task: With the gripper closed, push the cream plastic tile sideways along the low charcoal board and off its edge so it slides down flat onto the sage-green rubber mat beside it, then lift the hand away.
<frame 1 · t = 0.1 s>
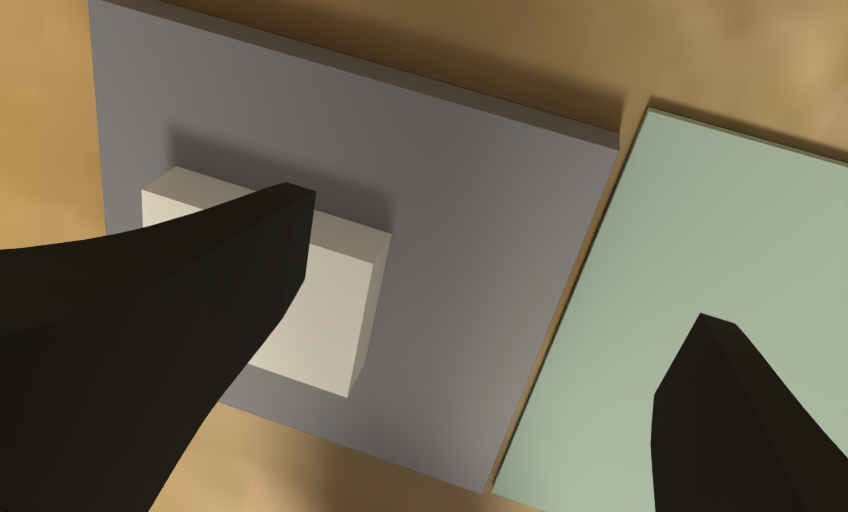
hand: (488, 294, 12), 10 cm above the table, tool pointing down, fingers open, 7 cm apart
grey flat slab: (328, 261, 25), on the table
mat: (749, 397, 24), on the table
tile: (263, 283, 23), point 2 cm above the table, touching grey flat slab
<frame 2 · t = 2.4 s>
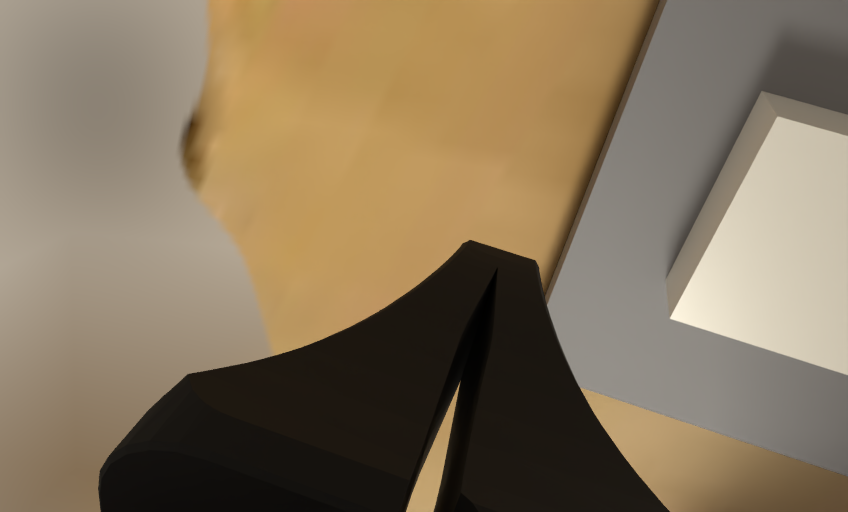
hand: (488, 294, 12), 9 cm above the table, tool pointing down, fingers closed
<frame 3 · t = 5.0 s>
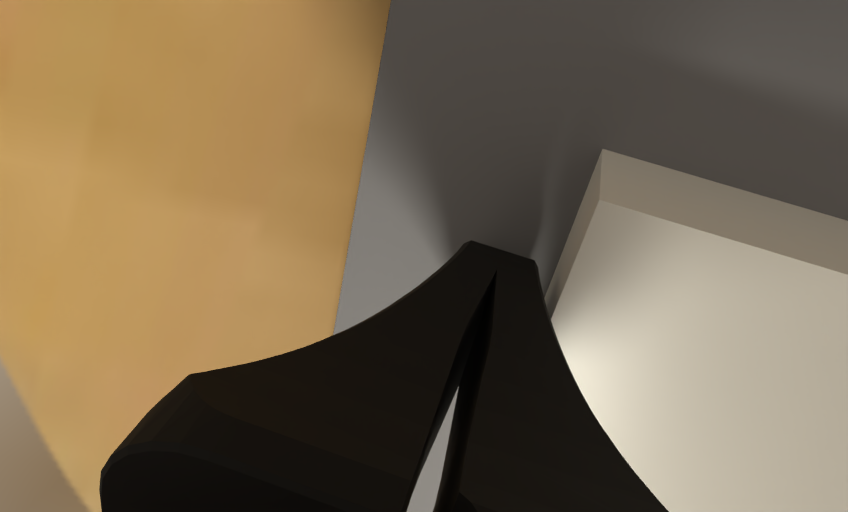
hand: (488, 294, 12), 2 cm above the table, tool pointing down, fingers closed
grey flat slab: (769, 319, 13), on the table
tile: (767, 393, 11), point 3 cm above the table, touching grey flat slab, gripper
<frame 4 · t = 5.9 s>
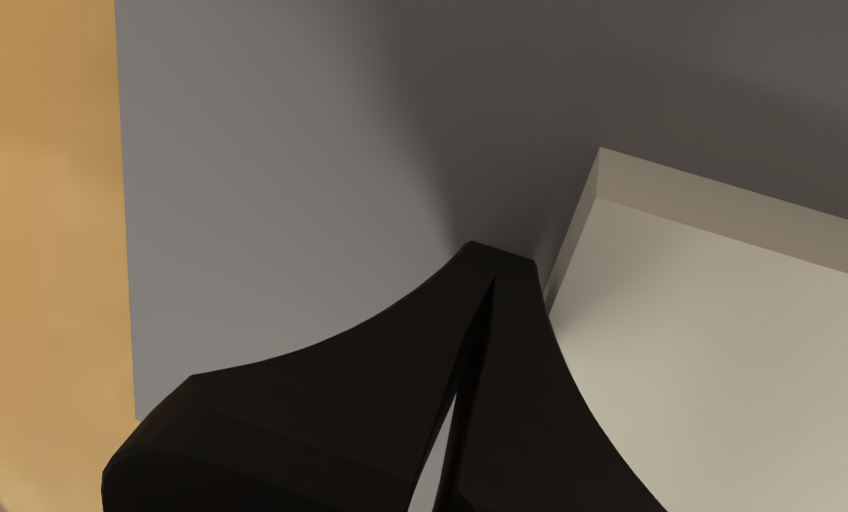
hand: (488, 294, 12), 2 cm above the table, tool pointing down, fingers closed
grey flat slab: (531, 245, 14), on the table
tile: (764, 392, 11), point 3 cm above the table, touching grey flat slab, gripper
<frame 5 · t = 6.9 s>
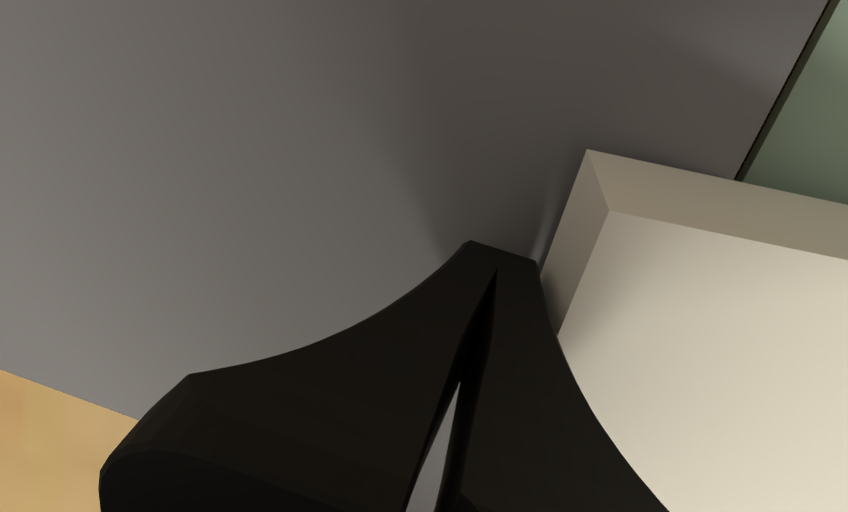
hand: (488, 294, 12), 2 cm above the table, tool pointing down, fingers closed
grey flat slab: (272, 163, 14), on the table
tile: (757, 373, 12), point 2 cm above the table, tilted 11°, touching grey flat slab, gripper, mat
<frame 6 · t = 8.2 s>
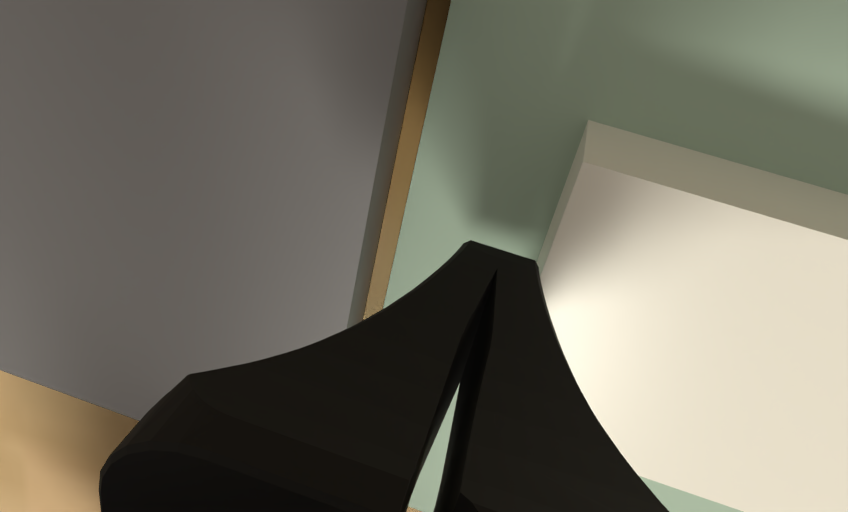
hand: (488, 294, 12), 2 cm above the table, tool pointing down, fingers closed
grey flat slab: (36, 90, 15), on the table
mat: (744, 313, 13), on the table
tile: (740, 346, 12), point 1 cm above the table, touching mat
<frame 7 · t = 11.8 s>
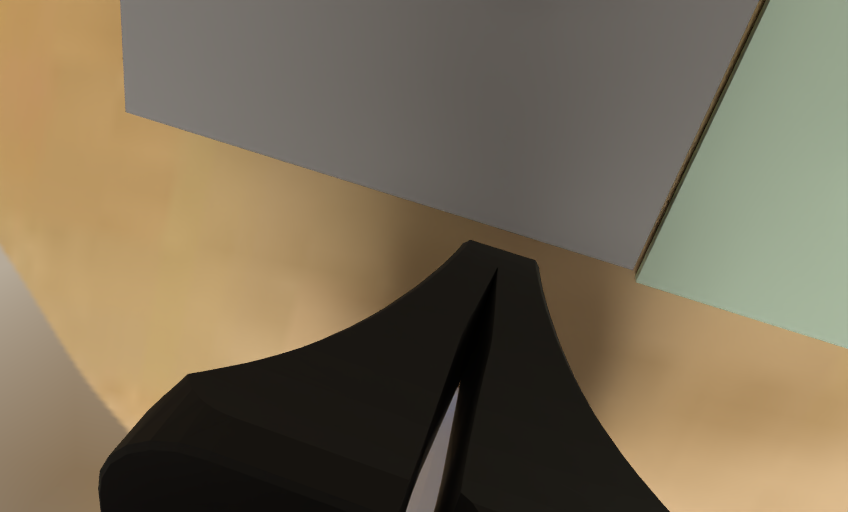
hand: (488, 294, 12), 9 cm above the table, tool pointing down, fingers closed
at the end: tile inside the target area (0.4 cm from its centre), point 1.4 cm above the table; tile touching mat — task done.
